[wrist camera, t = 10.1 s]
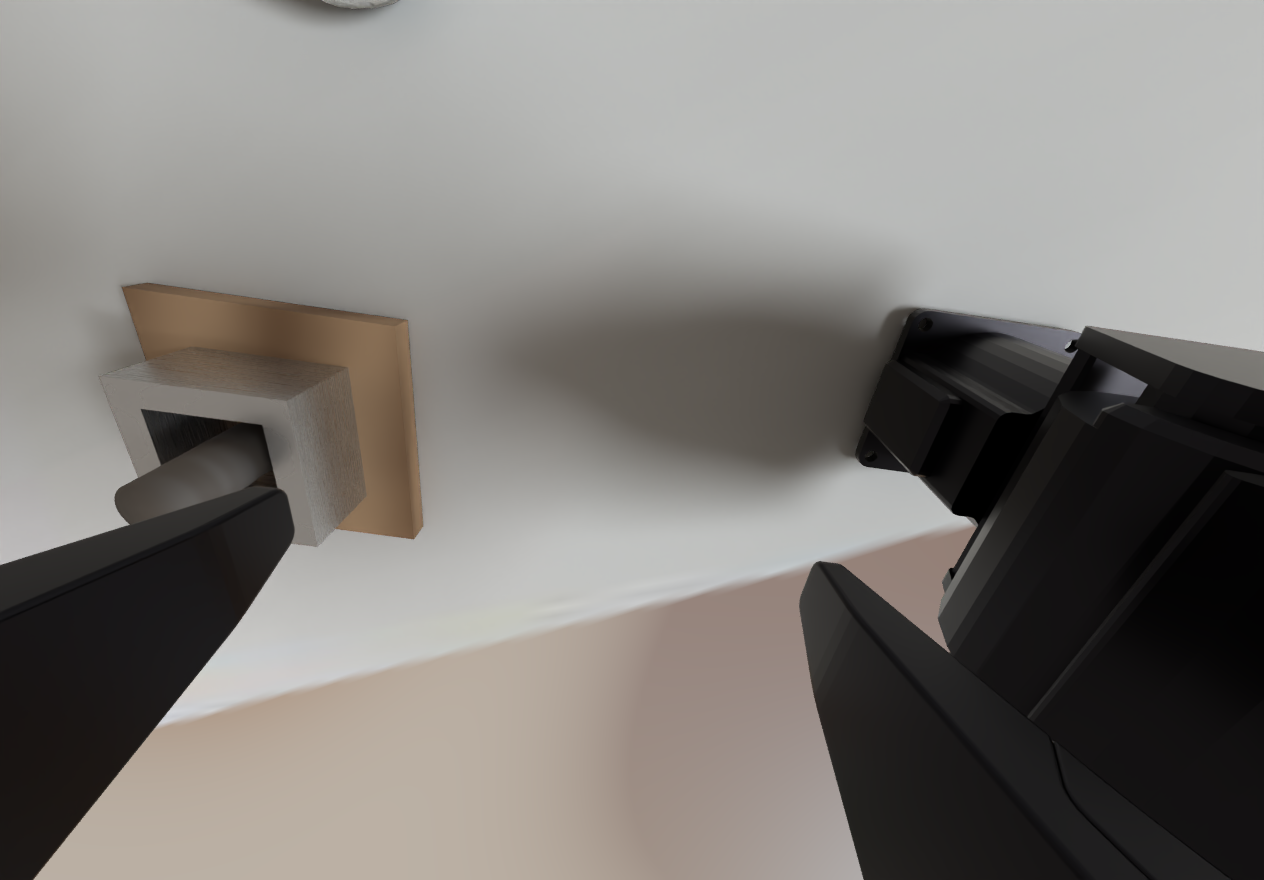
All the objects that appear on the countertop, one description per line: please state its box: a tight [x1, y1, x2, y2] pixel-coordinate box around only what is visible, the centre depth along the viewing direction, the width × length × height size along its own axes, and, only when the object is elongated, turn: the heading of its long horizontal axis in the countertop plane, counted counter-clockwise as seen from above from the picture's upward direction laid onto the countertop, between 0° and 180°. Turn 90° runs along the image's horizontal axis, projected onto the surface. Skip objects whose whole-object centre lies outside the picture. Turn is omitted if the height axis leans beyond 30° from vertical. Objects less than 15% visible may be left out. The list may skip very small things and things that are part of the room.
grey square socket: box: [99, 346, 367, 547], centre depth 18 cm, size 6×6×4 cm
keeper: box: [115, 283, 423, 539], centre depth 18 cm, size 10×10×7 cm
